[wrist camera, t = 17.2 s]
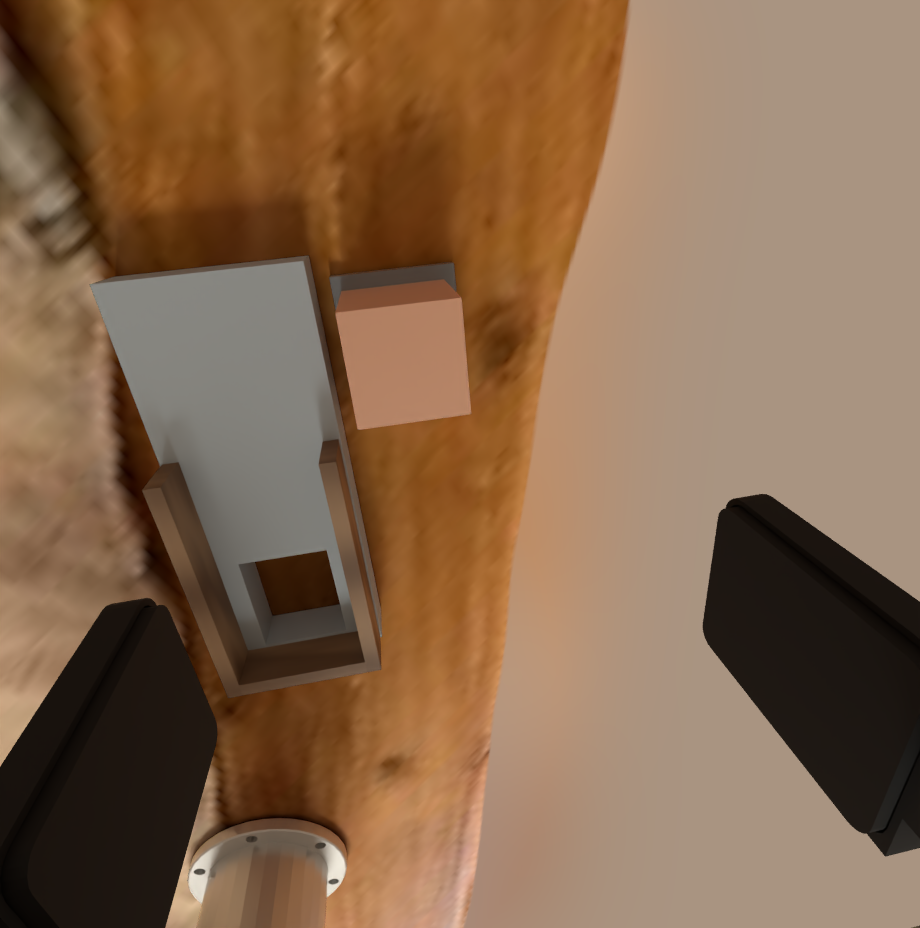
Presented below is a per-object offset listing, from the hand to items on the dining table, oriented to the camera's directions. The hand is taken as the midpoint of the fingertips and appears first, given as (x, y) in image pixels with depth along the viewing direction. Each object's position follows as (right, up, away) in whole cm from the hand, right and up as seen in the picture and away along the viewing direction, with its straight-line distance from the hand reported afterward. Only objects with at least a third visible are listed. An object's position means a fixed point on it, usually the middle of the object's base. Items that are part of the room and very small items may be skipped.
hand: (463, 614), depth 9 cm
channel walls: (-10, -3, +21) cm, 23 cm away
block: (-3, +9, +18) cm, 20 cm away
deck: (-11, +2, +21) cm, 23 cm away
